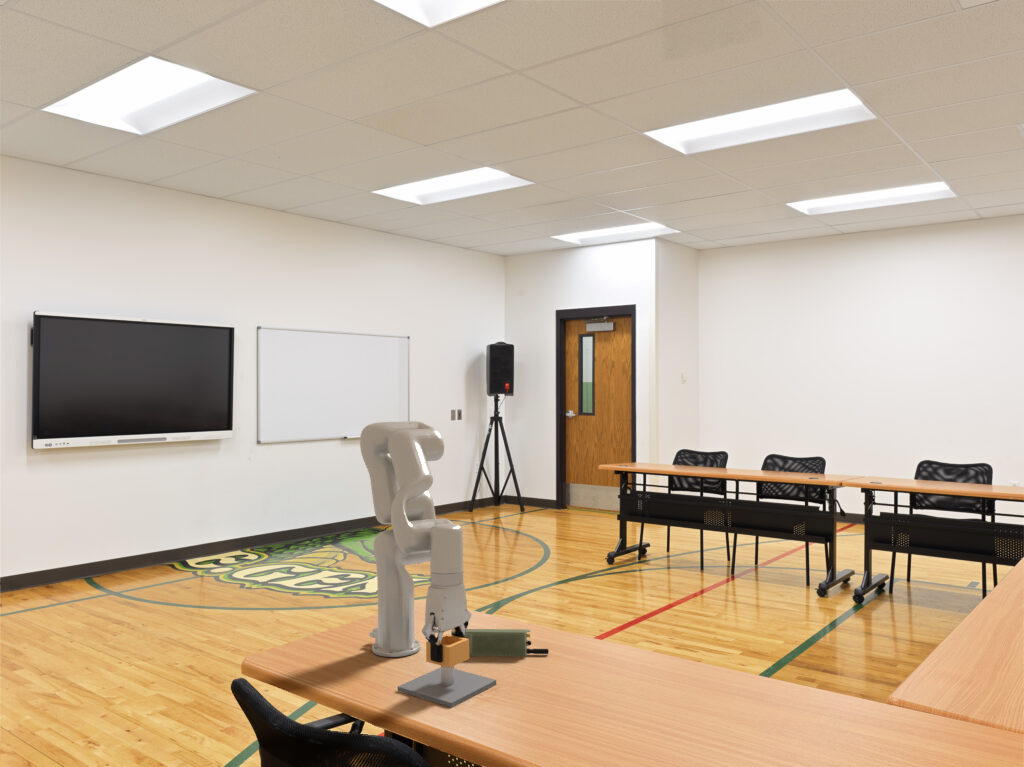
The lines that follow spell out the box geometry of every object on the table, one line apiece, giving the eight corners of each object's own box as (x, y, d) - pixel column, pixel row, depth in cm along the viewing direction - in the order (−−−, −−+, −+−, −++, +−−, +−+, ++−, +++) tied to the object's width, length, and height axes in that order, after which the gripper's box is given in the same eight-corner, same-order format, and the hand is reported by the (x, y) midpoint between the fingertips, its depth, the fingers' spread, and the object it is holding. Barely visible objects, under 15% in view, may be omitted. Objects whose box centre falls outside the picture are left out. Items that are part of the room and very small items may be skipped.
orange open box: (426, 661, 177) (426, 641, 177) (446, 653, 182) (446, 633, 183) (449, 667, 173) (449, 647, 173) (469, 658, 178) (469, 639, 178)
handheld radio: (452, 652, 202) (548, 653, 201) (451, 657, 199) (548, 658, 197) (452, 627, 202) (548, 628, 200) (450, 632, 199) (548, 632, 197)
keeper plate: (397, 691, 176) (397, 660, 176) (443, 669, 189) (443, 641, 189) (451, 707, 167) (451, 675, 167) (496, 684, 180) (496, 654, 180)
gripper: (458, 569, 187) (459, 643, 187) (408, 584, 173) (409, 664, 173) (483, 573, 183) (484, 649, 182) (433, 588, 169) (434, 670, 168)
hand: (447, 655), depth 178 cm, fingers closed on orange open box, 7 cm apart
